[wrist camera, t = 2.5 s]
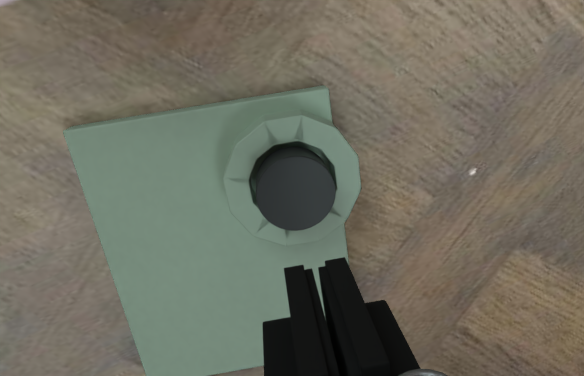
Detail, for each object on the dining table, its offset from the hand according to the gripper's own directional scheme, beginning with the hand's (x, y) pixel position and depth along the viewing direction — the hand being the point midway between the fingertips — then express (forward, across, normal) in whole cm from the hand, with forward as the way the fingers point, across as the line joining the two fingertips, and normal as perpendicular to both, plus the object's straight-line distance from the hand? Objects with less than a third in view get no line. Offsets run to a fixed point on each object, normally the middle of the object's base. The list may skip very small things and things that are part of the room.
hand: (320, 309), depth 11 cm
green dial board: (+13, +4, +4) cm, 14 cm away
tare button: (+10, 0, 0) cm, 10 cm away
